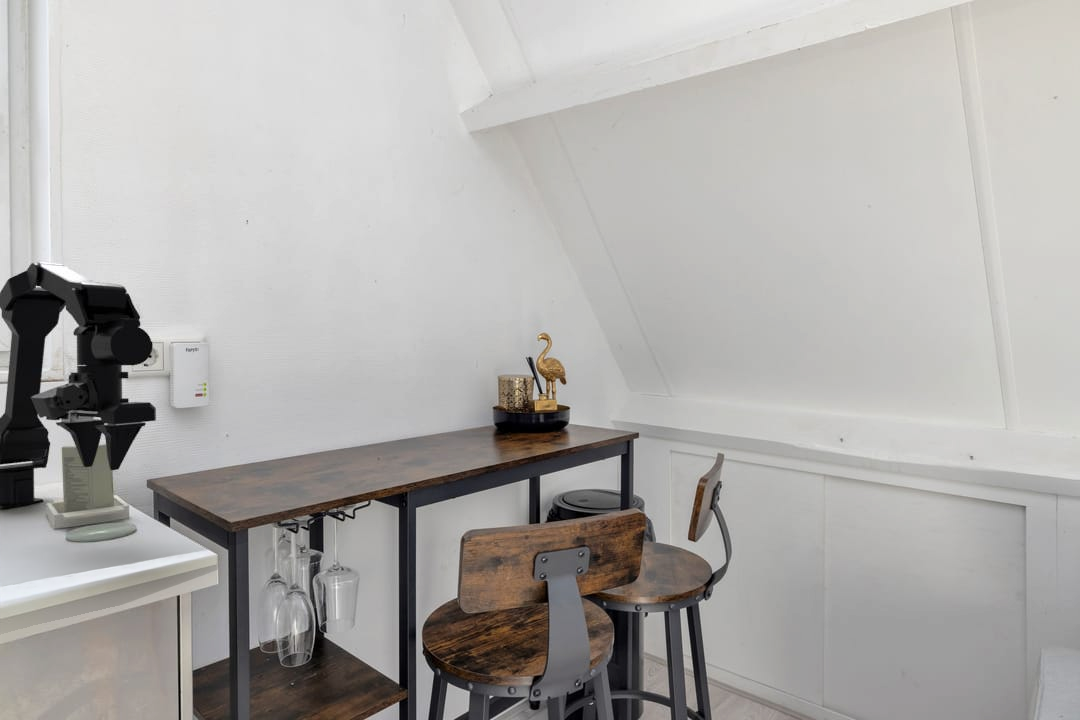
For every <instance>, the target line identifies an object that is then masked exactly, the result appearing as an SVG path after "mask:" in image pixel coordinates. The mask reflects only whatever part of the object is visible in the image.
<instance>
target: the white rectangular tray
mask: <svg viewBox="0 0 1080 720" xmlns="http://www.w3.org/2000/svg"><path fill="white" fill-rule="evenodd" d="M51 501H52V502H49V503H48V502H47V503H46V505H45V506H46V509H45V510H46V513H45V514H46V517H47V519H48V520H49V523H50V525H51V526H52V528H53V529H54V530H57V529H63V528H65V529H66V528H70V527H79V526H87V525H94V524H101V523H108V522H112V521H119V520H124V518H125V519H129V518H130V505H129V503H127V502H126V501H125V500H123V499H122V498H121V497H120V496H118V495H117V494H114V507H106V508H99V509H91V510H83V511H75V512H68V513H64V497H62V498H57V499H52V500H51Z"/></svg>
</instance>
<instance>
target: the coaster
mask: <svg viewBox="0 0 1080 720" xmlns="http://www.w3.org/2000/svg"><path fill="white" fill-rule="evenodd" d="M136 531H137V525H136V524H135V523H132V522H104V523H96V524H90V525H85V526H81V527H77V528H75V529H72V530H69V531H67V532H66V533H65V540H66V541H69V542H76V543H77V542H78V543H85V542H86V543H87V542H99V541H106V540H114V539H117V538H121V537H126V536H128V535H132V534H133V533H135V532H136Z"/></svg>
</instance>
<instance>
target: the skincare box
mask: <svg viewBox="0 0 1080 720" xmlns="http://www.w3.org/2000/svg"><path fill="white" fill-rule="evenodd" d="M61 460H62V461H61V462H62V463H61V465H62V466H61V467H62V471H61V472H62V492H63V497H62V498H64V513H68V512H75V511H83V510H91V509H99V508H106V507H114V495H115V494H114V474H113V471H114V470H110V467H109V462H108V455H107V447H106V443H99V446H98V449H97V453H96V457H95V460H94V462H93V465H92V466H91V467H84V466H83V464H82V461H81V458H80V456H79V453H78V450H77V448H76V445H75V444H73V445H65V446H61Z"/></svg>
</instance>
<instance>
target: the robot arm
mask: <svg viewBox="0 0 1080 720" xmlns="http://www.w3.org/2000/svg"><path fill="white" fill-rule="evenodd" d="M64 309H65V310H66V312H67V313H68V314H69V315H71V317H72V318H73V320H74V321H75V322H76V324H77V327H75V329H74V330H73V336H74V337H75V336H76V365H77V366H76V372H70V374H68V383H66V384H62V385H59V386H56V387H53V388H51V389H48V390H44V391H42V392H41V385H42V377H43V376H42V374H43V365H44V355H45V347H46V345H45V344H46V338H47V336H48V335H49V334H50V333H51V332H52V331H53V330H54V329H55V328H56V327H57V326H58V325H59V320H60V315H61V312H63V310H64ZM0 310H1V318H2V319H3V321H4V322H5V324H6V326H7V327H8V329H9V330H10V332H11V341H10V342H11V343H10V352H9V362H8V363H9V365H8V373H7V375H8V376H7V384H6V396H5V405H4V406H5V407H4V413H3V414H2V416H0V509H9V508H15V507H20V506H27V505H32V504H39V503H43V502H44V498H39V497H35V469H46V468H47V464H48V462H49V454H50V448H51V442H50V439H49V434H50V433H49V430H48V429H47V427H45V425H44V424H43V422H42V421H41V419H43V418H45V419H46V421H47V420H48V421H58V422H55V424H56V425H57V426H58V427H61V428H63V429H64V430H65V431H66V432H69V434H70V436H71V438H72V441H73V442H74V445H76V448H77V450H78V453H79V456H80V458H81V461H82V464H83V466H84V467H91V466H92V465H93V462H94V460H95V457H96V453H97V449H98V446H99V444H100V441H101V439H102V434H103V436H104V439H105V444H106V447H107V455H108V462H109V467H110V470H113V471H117V470H119V469H120V467H121V465H122V463H123V462H124V460H125V458H126V456H127V454H128V451H129V450H130V448H131V446H132V445H133V442H134V441H135V439H136V437H137V436H138V434H139V433H140V431H141V429H142V428H143V427H145V426H146V422H155V421H157V408H156V406H154V405H153V404H152V403H151V402H147V401H143V402H142V401H132V402H131V401H129V398H126V397H125V398H124V397H123V379H129V371H123V366H137V365H140V364H143V363H144V362H145V361H147V360H148V359H149V358H150V356H151V354H152V351H153V348H154V347H153V345H154V344H153V341H152V339H151V337H150V336H149V334H148V333H147V331H145V330H144V329H143V328H141V321H140V318H141V316H140V314H139V311H137V309H136V307H135V305H134V303H133V301H132V298H131V295H130V294H129V293H128V292H127V288H126V287H125V286H124V285H122V284H119V283H109V282H99V281H93V280H91V279H89V278H87V277H86V276H84V275H82V274H80V273H78V272H75V271H74V270H72V269H70V268H69V266H68V265H64V264H63V263H62V264H61V263H51V262H42V261H37V262H35V263H34V262H32V263H31V264H30V265H28V268H27V269H26V270H24V271H23V272H20V273H19V274H16V275H14V276H12V277H10V278H8V279H7V280H6V282H5V284H4V285H3V287H2V289H1V290H0ZM40 418H41V419H40ZM95 418H100V419H95ZM59 421H60V422H59ZM18 463H19V464H18Z"/></svg>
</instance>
